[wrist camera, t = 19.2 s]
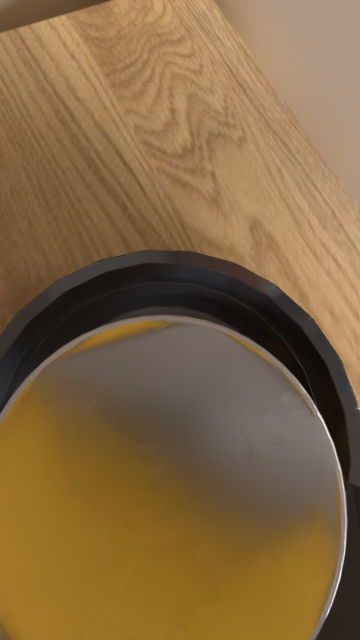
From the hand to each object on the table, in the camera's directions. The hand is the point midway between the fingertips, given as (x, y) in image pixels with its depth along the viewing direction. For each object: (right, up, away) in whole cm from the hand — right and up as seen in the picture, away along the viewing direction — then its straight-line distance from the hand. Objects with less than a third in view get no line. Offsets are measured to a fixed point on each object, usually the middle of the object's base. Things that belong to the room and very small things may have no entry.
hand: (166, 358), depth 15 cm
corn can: (0, -4, +3) cm, 5 cm away
